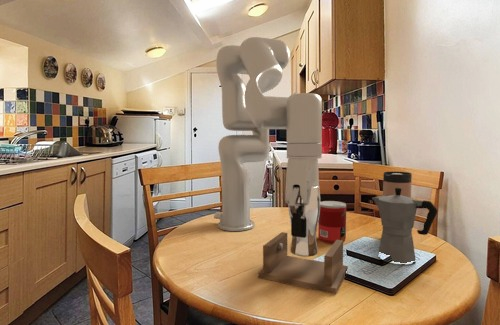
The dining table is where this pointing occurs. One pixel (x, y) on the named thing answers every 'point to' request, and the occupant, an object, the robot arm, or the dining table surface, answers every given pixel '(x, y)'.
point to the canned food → (332, 221)
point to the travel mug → (397, 183)
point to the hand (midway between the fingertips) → (304, 231)
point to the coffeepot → (401, 224)
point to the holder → (303, 266)
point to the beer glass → (308, 226)
